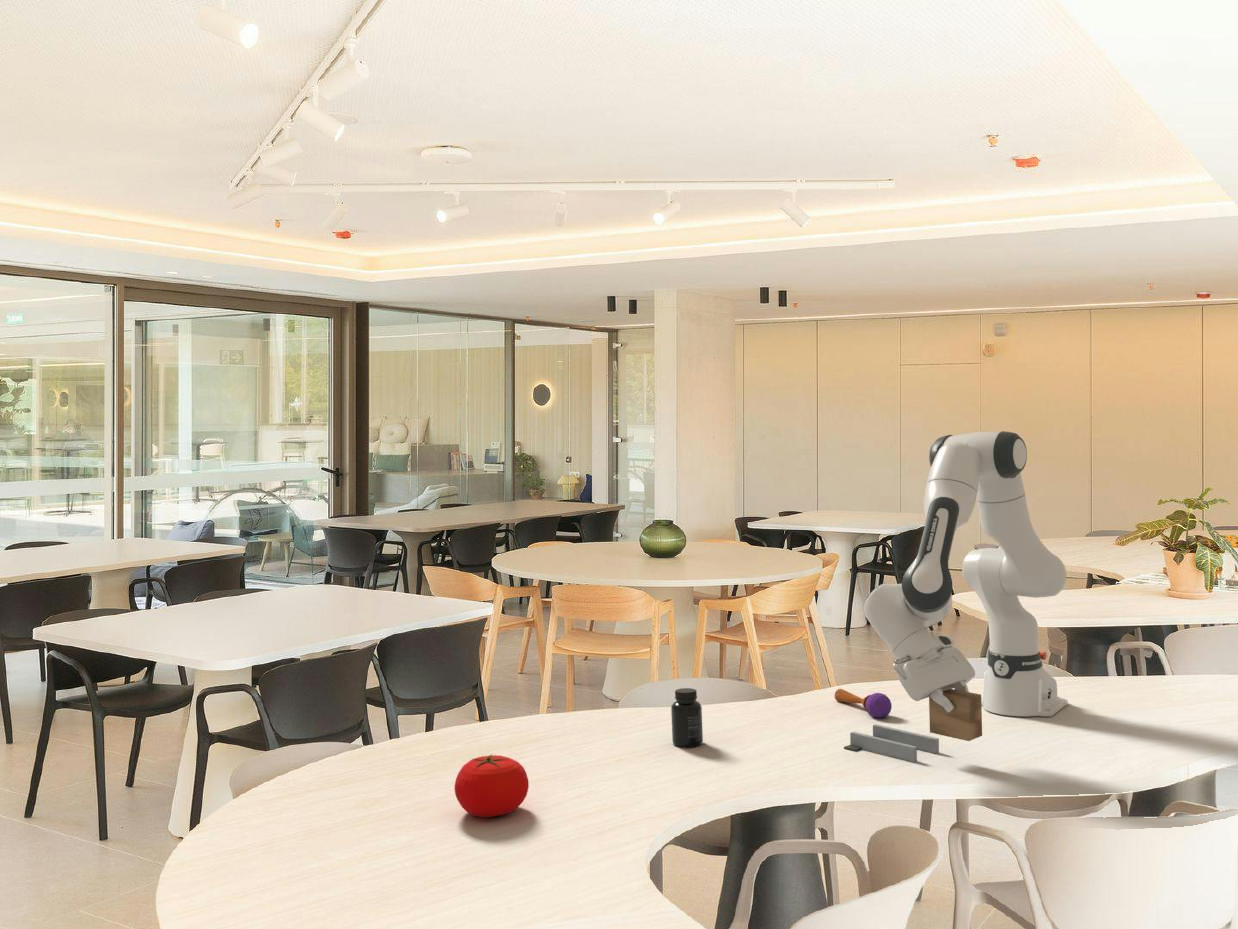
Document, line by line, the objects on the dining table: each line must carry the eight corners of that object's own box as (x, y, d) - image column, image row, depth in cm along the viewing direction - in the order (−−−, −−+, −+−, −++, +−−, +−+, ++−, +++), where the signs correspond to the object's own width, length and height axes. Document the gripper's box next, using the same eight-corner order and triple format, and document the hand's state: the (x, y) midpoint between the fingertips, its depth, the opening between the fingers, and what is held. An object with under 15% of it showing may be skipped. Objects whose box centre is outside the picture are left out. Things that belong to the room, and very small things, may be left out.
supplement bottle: (703, 739, 244) (702, 686, 244) (702, 748, 238) (701, 694, 237) (672, 739, 245) (671, 686, 245) (671, 748, 238) (670, 694, 238)
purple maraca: (851, 684, 277) (897, 695, 258) (849, 708, 276) (895, 721, 257) (831, 682, 275) (876, 693, 256) (828, 706, 274) (874, 719, 255)
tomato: (495, 795, 210) (494, 742, 210) (543, 809, 202) (542, 753, 202) (439, 817, 199) (437, 761, 199) (488, 832, 191) (486, 773, 191)
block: (943, 727, 228) (942, 687, 227) (982, 735, 221) (981, 694, 220) (929, 732, 224) (928, 692, 224) (968, 741, 218) (967, 699, 217)
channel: (882, 735, 244) (882, 722, 244) (944, 750, 232) (944, 736, 232) (844, 748, 235) (843, 735, 235) (907, 764, 223) (907, 750, 223)
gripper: (898, 652, 220) (942, 708, 213) (954, 635, 233) (997, 688, 226) (880, 670, 223) (923, 726, 216) (936, 653, 236) (978, 705, 230)
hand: (961, 706), depth 221 cm, fingers closed on block, 5 cm apart
